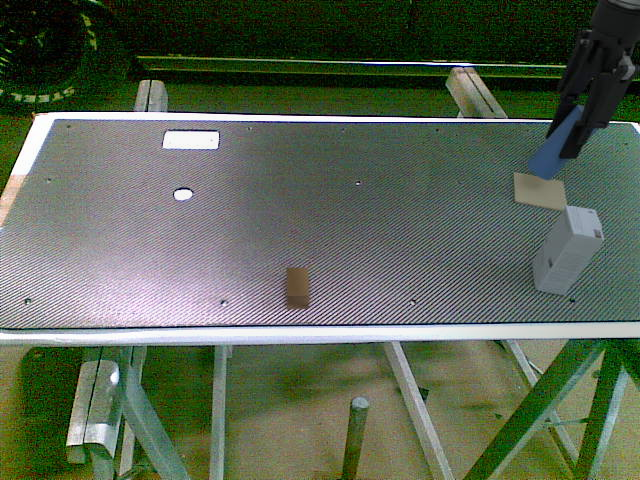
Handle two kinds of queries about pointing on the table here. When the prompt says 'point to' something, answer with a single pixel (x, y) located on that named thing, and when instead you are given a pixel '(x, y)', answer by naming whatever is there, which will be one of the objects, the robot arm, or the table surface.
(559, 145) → the tube
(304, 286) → the brown rectangular block
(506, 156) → the table surface
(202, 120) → the table surface
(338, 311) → the table surface
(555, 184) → the mat
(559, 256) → the cosmetic box
